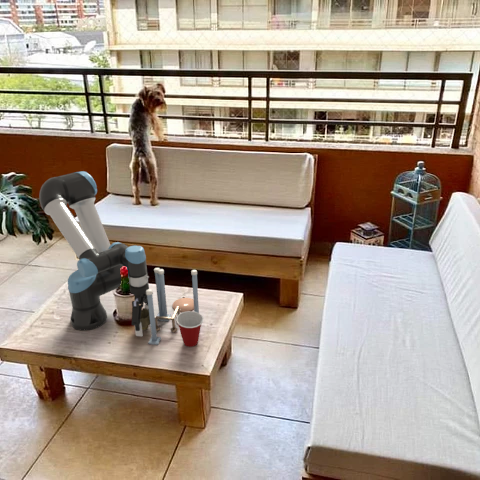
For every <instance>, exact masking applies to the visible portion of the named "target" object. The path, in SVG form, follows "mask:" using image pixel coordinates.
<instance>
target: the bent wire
mask: <svg viewBox="0 0 480 480" xmlns="http://www.w3.org/2000/svg"><path fill="white" fill-rule="evenodd" d="M180 313H181V312H180V308H179V306H177V308H176V310H174V313H173V315H172V316H171V317H163V316H157V315H156V316H155V324H156V332H159V331H160V330H161V326H160V325H159V323H158V320H160V319H162V320H169V321H171V326H172V327H171V328H170V329H169V330H170V332H171V333H177V332H178V331H179V330H178V329H179V328H178V327H176V322H175V321H176V318H177V316H178V315H179V314H180Z"/></svg>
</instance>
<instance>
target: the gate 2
mask: <svg viewBox="0 0 480 480" xmlns="http://www.w3.org/2000/svg"><path fill="white" fill-rule="evenodd" d="M160 269H161V268H160V267H155V268H154V269H153V271H154V276H155V277H154V278H155V285H156V287H155V288H156V297H157V307H158V313H156V314H157V315H156V316H163V312H162V302H161V291H160V281H159V274H158V270H160ZM190 272H191V273H190V274H191V276H192V277H191V281H192V294H193V295H192V296H193V298H192V299H193V300H194V309H193V311H194V312H197V313H199V314H200V309H199V307H200V306H199V293H198V291H199V290H198V289H199V288H198V271H197V270H196V269H192V270H191V271H190Z"/></svg>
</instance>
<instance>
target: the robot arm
mask: <svg viewBox="0 0 480 480" xmlns="http://www.w3.org/2000/svg"><path fill="white" fill-rule="evenodd" d="M94 179H95V178H93V176H92V175H91V174H89V173H88V172H87V171H84V170H83V171H76V172H71V173H67V174H63V175H59V176H54V177H50V178H48V179H47V180H46V181H45V182H44V183H42V185H41V187H40V190H39V194H38V195H39V196H38V197H39V200H38V201H39V203H40V207H41V209H42V210H43V211H44V213H45V214H46V215H48V216H50V218H51V219H52V221H53V222H54V224H55V225H56V227H57V228H58V230H59V232H60V233H61V234H62V236H63V237H64V239H65V240H66V243H68V245H69V246H70V248H71V249H72V250H73V251H72V252H74V254H75V255H76V257H77V258H78V260H77V262H76V267H77V270H75V271H73V272H72V273H71V274H70V275H69V277H68V278H67V290H68V293H69V297H70V302H71V303H70V304H71V308H72V309H71V313H70V314H71V315H70V323H71V326H72V328H73V329H75V330H77V331H90V330H95V329H97V328H99V327H101V326H102V325H104V324H105V323H106V321H107V319H108V314H107V310H106V309H105V308H104V306H103V304H102V303H101V299H100V298H101V296H103V295H106V294H108V293H110V292H113V291H115V290H117V289H119V288H118V287H119V286H120V284H121V275H120V268H121V267H122V266H126V267H127V270H128V278H129V282H128V284H129V290H130V291H129V292H130V293H131V295H133V296H134V300H132V301H131V308H132V309H131V310H132V311H131V326H134V332H135V336H136V337H143V335H144V334H143V330H142V325H141V322H140V319H141V310H142V309H143V308H144V309H145V308H146V309H147V310H148V309H149V308H148V299H147V294H146V290H148V289H150V285H149V278H150V276H149V275H148V268H147V255H146V252H145V249H144V247H143V246H141V245H130V246H128V245H127V244H125V243H122V242H119V241H117V242H116V241H115V242H112V243H110V240H109V238H108V236H107V233H106V230H105V228H104V225H103V223H102V220H101V218H100V215H99V212H98V210H97V207H96V206H95V201H96V195H97V193H98V188H97V187H98V186H97V183H96V181H95V180H94ZM68 207H69V208H70V209H72V210H74V213H76V217H77V219H78V221H77V219H76V218H75V216H74V215H73V213H72V211H70V209H69V208H68Z"/></svg>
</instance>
